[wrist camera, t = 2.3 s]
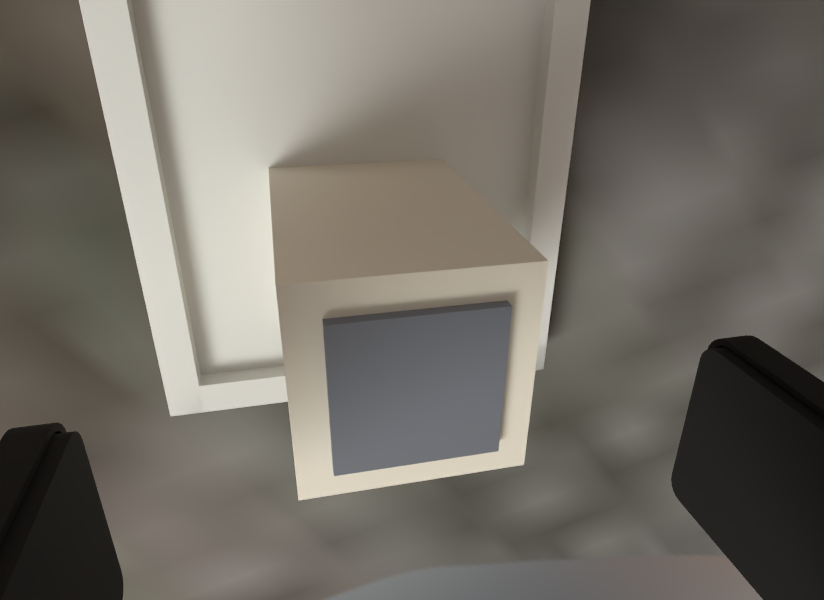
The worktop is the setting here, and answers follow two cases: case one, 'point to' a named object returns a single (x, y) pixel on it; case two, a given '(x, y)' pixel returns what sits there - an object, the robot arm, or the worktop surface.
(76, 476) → the robot arm
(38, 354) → the worktop surface
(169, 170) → the tray
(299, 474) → the label box
